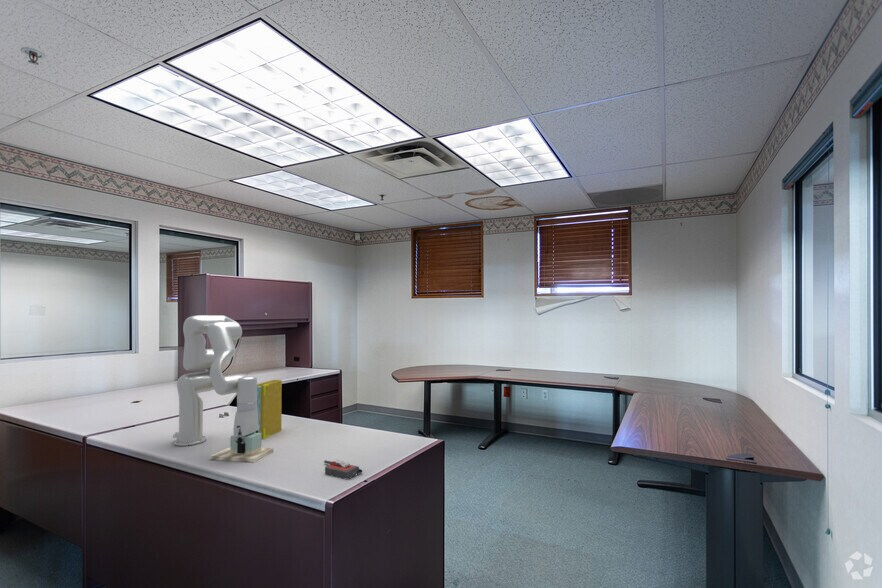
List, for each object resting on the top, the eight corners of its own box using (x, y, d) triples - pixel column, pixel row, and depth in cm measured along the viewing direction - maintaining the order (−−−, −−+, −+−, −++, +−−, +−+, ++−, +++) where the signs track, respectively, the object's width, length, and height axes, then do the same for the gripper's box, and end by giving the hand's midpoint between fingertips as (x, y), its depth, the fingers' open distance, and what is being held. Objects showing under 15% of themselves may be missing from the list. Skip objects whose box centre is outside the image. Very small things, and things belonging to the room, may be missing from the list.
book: (263, 439, 195) (264, 385, 196) (251, 438, 196) (251, 385, 198) (284, 429, 212) (284, 379, 213) (272, 428, 213) (272, 379, 214)
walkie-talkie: (366, 472, 151) (326, 464, 161) (366, 460, 152) (326, 452, 161) (350, 481, 144) (309, 471, 154) (350, 468, 144) (309, 459, 154)
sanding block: (230, 453, 170) (230, 436, 170) (240, 449, 176) (240, 432, 176) (252, 454, 168) (252, 437, 168) (261, 450, 173) (261, 433, 174)
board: (209, 459, 167) (209, 455, 168) (232, 449, 180) (232, 445, 180) (253, 462, 163) (253, 458, 164) (273, 451, 176) (273, 448, 176)
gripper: (252, 401, 182) (252, 443, 181) (224, 410, 165) (223, 457, 164) (267, 402, 180) (267, 444, 179) (240, 411, 163) (240, 458, 162)
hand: (246, 450), depth 172 cm, fingers closed on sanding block, 6 cm apart
